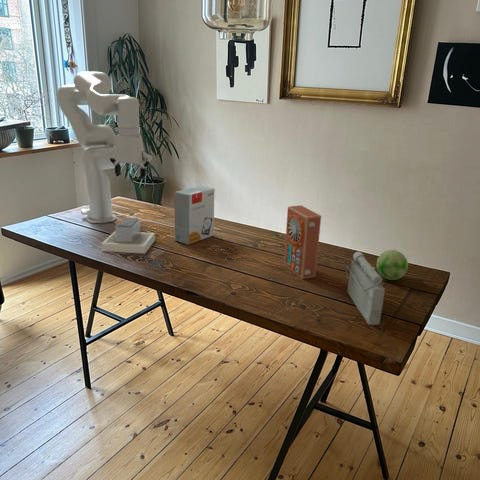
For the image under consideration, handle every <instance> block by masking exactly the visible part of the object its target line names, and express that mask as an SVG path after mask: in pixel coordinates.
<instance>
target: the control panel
mask: <svg viewBox="0 0 480 480" xmlns="http://www.w3.org/2000/svg"><path fill="white" fill-rule="evenodd" d="M286 215H287V217H286V227H285V231H286V232H285V243H284V258H283V259H284V260H283V265H284V267H286V268H287V269H288V270H290V271H291V272H292V273H294V274H295V275H296V276H298V277H299V278H300V279H301V280H303V279H309V278H315V277H316V275H317V264H318V263H317V262H318V254H319V245H320V244H319V243H320V233H321V222H322V215H321V214H319V213H317V212H315V211H314V210H311V209H309V208H307V207H305V206H303V205H289V206H288V207H287V214H286Z"/></svg>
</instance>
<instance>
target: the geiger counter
mask: <svg viewBox="0 0 480 480" xmlns="http://www.w3.org/2000/svg"><path fill="white" fill-rule="evenodd" d="M352 259H353V260H350V261H351V262H350V267H349V266H348V265H347V266H346V267H345V274H346V277H347V281H348V285H347V291H346V293H347V294H348V295H349V297H350V299H351V300H352V301H353V304H355V306H356V308H357V310H358V311H359V312H360V314H361V315H362V317H363V318H364V319H365V321H366V323H367V324H368V326H369V325H370V326H379V325H380V324H381V317H382V316H381V315H382V311H383V304H384V298H385V291H386V289H385V287H384V286H383V285H382V283H383V278H382V276H381V275H380V273H379V272H378V271H377V270H376V268H375V267H374V266H372V265H371V264H370V263H369V262H368V260H367V259H366V256H365V255H364V254H363V253H362V251H355V252H354V253H353V255H352ZM348 271H349V273H348Z"/></svg>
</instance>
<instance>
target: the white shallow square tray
mask: <svg viewBox="0 0 480 480" xmlns="http://www.w3.org/2000/svg"><path fill="white" fill-rule="evenodd" d="M140 232H141V234H140V235H139V236H138V238H137V239H136V240H135V241H134V242H133V243H122V242H117V241H116V230H114V231H113V232H112V233H111V234H110V235H109V236H107V237H106V239H105V240H103V242H101V250H102V252H113V253H126V254H127V253H129V254H132V253H133V254H143V255H144V254H146V253H147V252H148V250H149V249H150V248H151V246H152V245H153V243H154V242H155V241H156V235H155V234H156V233H155V232H142V231H140Z"/></svg>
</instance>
